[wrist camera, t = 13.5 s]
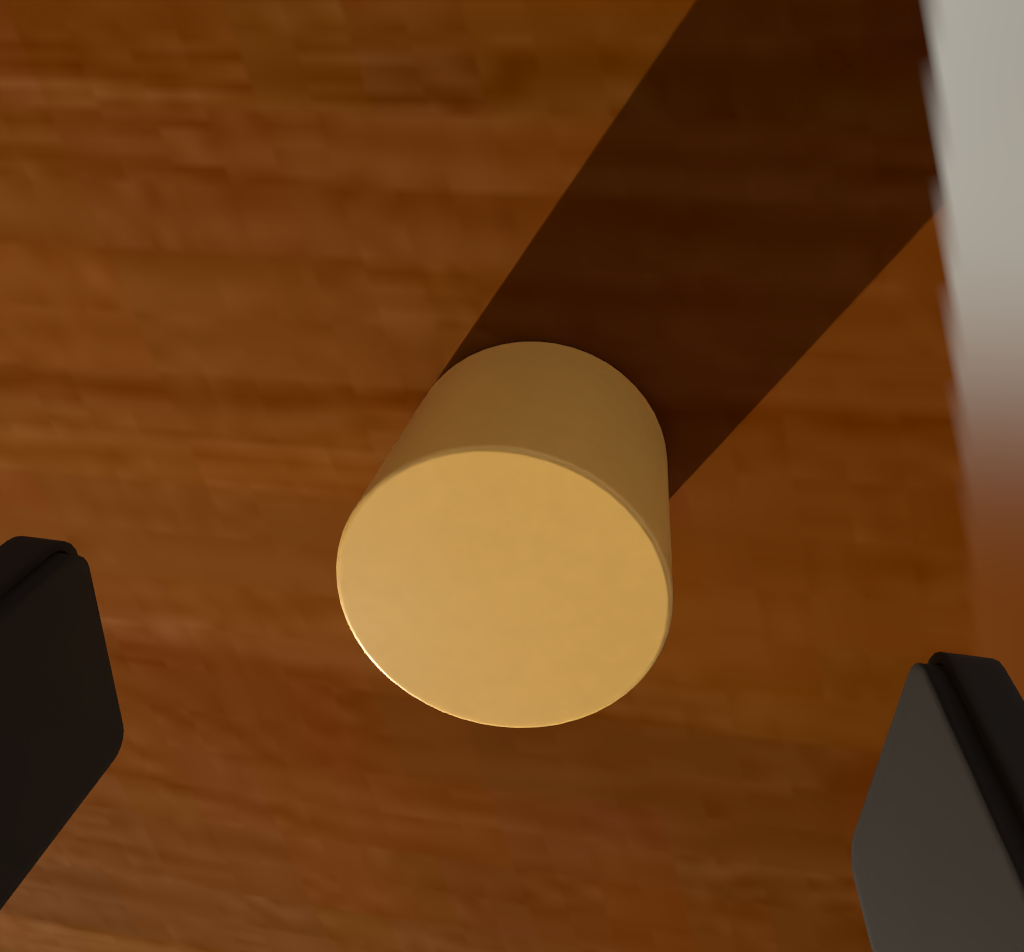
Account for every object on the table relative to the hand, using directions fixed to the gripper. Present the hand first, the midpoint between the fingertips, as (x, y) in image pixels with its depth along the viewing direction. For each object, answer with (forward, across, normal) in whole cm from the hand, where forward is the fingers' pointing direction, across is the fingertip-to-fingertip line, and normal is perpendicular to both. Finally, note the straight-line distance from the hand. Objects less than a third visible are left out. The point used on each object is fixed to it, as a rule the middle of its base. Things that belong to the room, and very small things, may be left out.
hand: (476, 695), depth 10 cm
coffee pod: (+6, 0, 0) cm, 6 cm away
